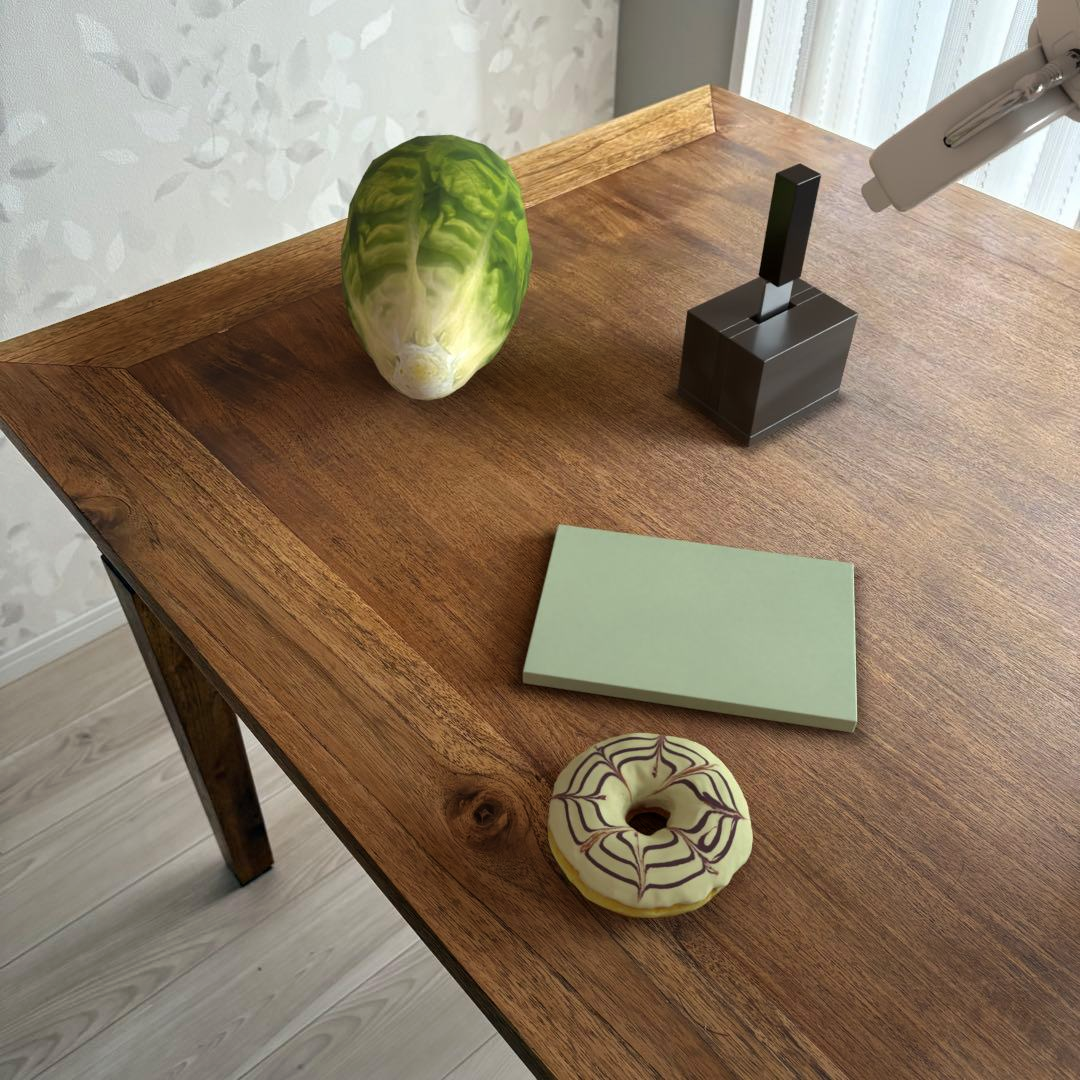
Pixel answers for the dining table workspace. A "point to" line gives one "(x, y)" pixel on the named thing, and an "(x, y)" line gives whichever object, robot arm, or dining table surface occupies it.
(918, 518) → the dining table surface
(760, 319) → the knife
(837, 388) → the knife block
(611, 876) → the decorated donut
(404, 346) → the lettuce
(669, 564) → the cutting board
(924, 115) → the robot arm
